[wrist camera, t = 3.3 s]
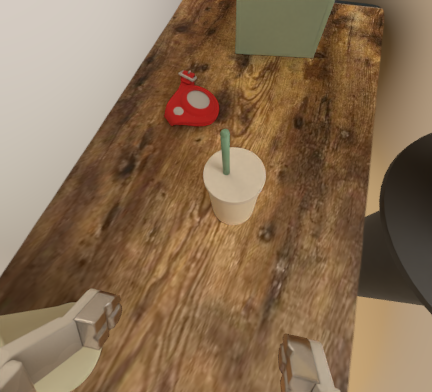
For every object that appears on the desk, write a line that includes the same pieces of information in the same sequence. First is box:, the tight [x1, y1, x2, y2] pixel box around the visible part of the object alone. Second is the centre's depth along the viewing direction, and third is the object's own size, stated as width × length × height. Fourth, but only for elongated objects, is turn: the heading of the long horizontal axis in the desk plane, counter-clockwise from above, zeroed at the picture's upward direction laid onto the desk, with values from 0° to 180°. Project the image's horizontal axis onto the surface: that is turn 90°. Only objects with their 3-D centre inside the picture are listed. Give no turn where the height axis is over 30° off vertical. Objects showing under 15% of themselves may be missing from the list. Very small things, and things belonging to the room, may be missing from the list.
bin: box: [235, 0, 335, 58], centre depth 40 cm, size 16×16×10 cm
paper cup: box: [203, 129, 266, 225], centre depth 22 cm, size 6×6×16 cm
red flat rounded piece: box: [164, 70, 219, 126], centre depth 36 cm, size 12×4×10 cm
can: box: [0, 302, 102, 392], centre depth 19 cm, size 9×9×12 cm
